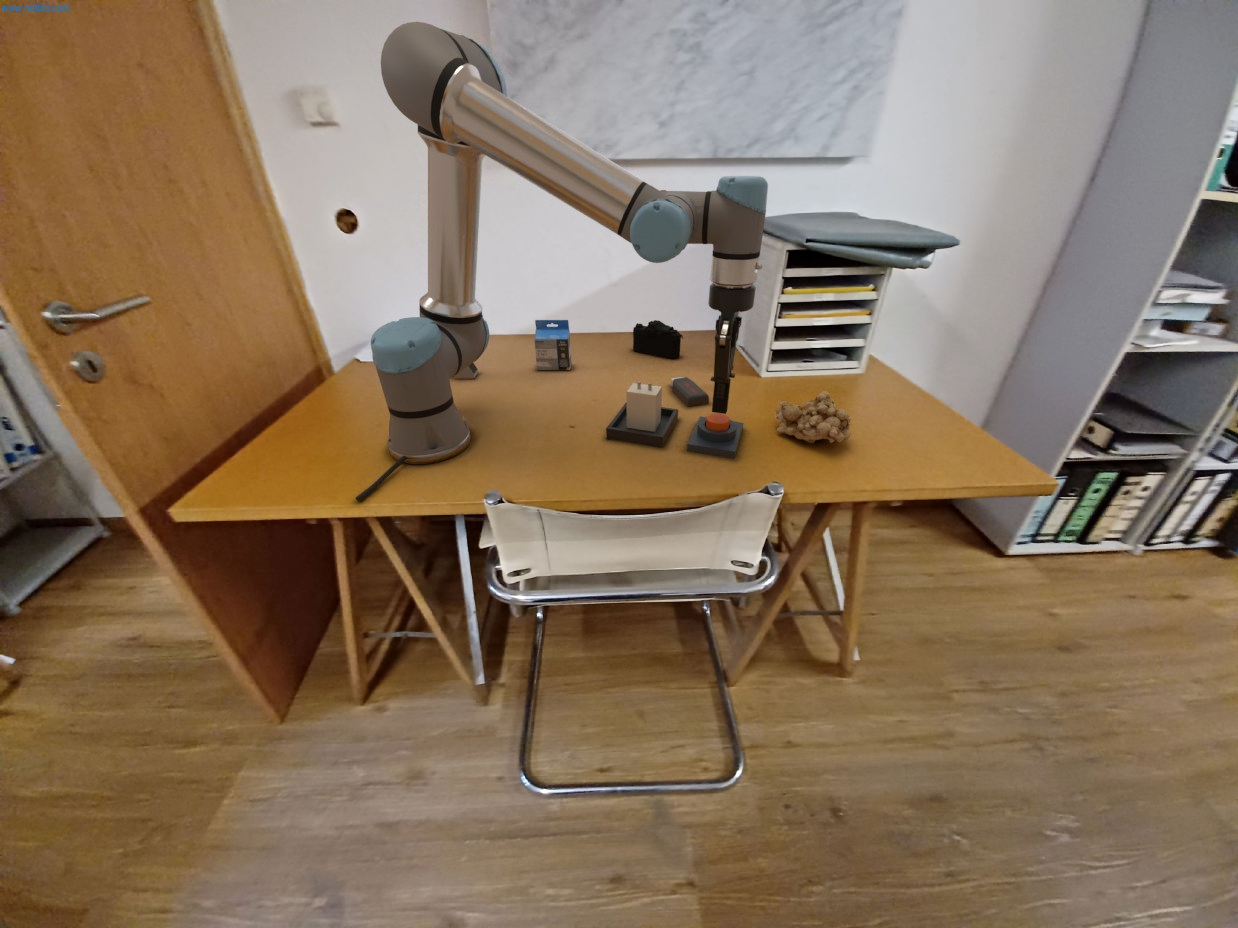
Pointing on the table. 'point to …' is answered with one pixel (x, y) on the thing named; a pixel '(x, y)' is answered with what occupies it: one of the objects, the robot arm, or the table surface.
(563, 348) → the label tape box
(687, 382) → the usb drive
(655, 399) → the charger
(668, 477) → the table surface
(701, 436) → the switch block
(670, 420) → the cradle
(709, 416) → the button
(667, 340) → the film camera
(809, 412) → the mineral formation
